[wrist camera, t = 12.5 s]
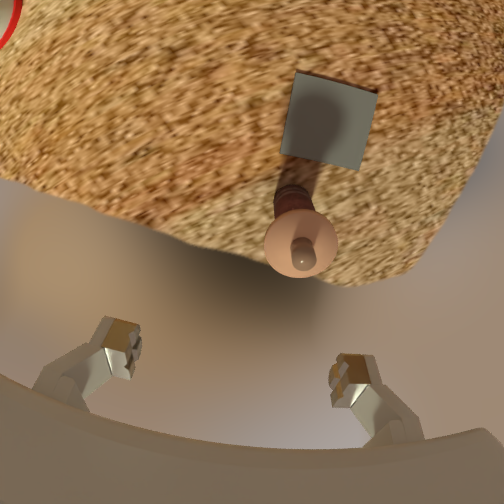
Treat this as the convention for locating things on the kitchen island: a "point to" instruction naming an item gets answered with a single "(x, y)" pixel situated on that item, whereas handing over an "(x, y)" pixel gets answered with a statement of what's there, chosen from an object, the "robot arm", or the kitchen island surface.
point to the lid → (300, 243)
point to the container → (8, 18)
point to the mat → (328, 121)
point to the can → (291, 200)
